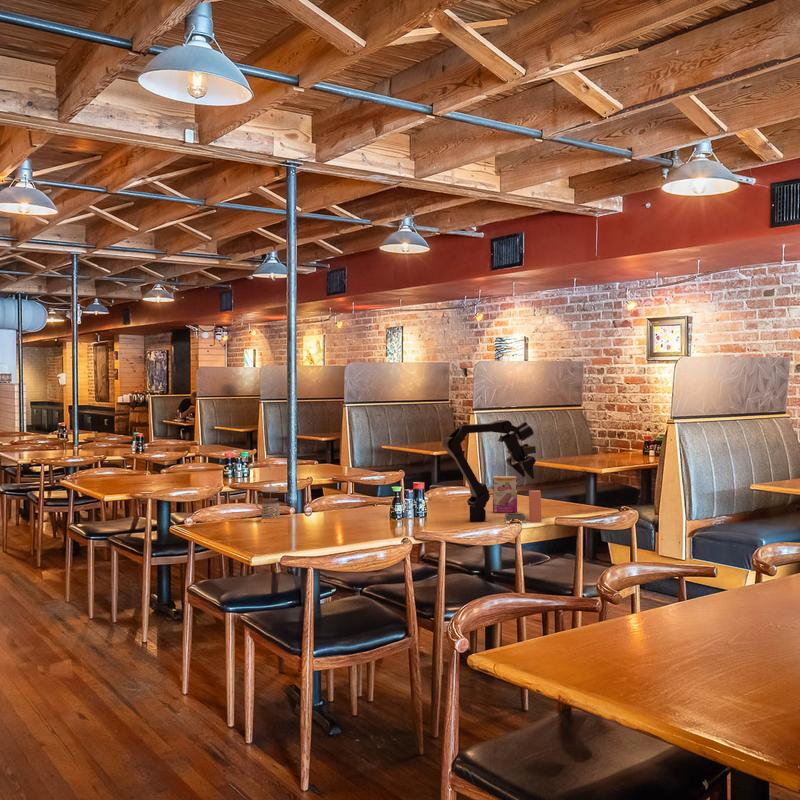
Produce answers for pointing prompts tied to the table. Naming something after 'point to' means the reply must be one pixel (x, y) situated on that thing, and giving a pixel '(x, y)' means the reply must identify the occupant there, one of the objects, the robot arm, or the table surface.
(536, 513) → the column
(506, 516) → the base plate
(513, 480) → the candy bar box
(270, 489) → the french press
